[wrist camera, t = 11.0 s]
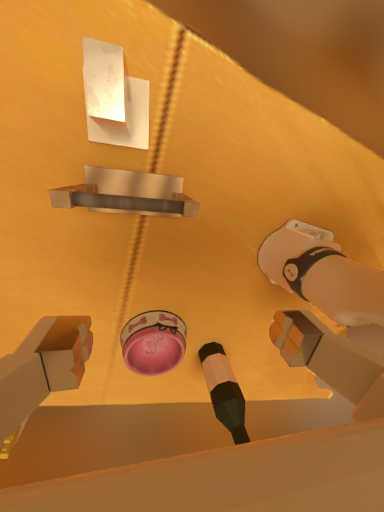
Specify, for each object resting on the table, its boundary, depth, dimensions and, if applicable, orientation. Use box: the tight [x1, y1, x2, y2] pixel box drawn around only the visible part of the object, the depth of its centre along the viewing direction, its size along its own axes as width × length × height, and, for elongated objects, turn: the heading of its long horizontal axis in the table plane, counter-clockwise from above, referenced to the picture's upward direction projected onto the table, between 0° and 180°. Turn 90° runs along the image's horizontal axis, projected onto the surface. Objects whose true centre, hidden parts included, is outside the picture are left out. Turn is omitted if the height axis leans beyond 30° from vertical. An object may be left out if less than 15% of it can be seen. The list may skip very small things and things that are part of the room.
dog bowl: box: [120, 310, 187, 376], centre depth 51 cm, size 18×19×7 cm
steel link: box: [82, 36, 132, 138], centre depth 27 cm, size 4×7×12 cm, turn 173°
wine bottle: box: [199, 342, 250, 445], centre depth 48 cm, size 8×8×30 cm
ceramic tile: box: [82, 65, 150, 150], centre depth 32 cm, size 10×10×1 cm
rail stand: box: [49, 166, 199, 218], centre depth 31 cm, size 18×8×16 cm, turn 83°
